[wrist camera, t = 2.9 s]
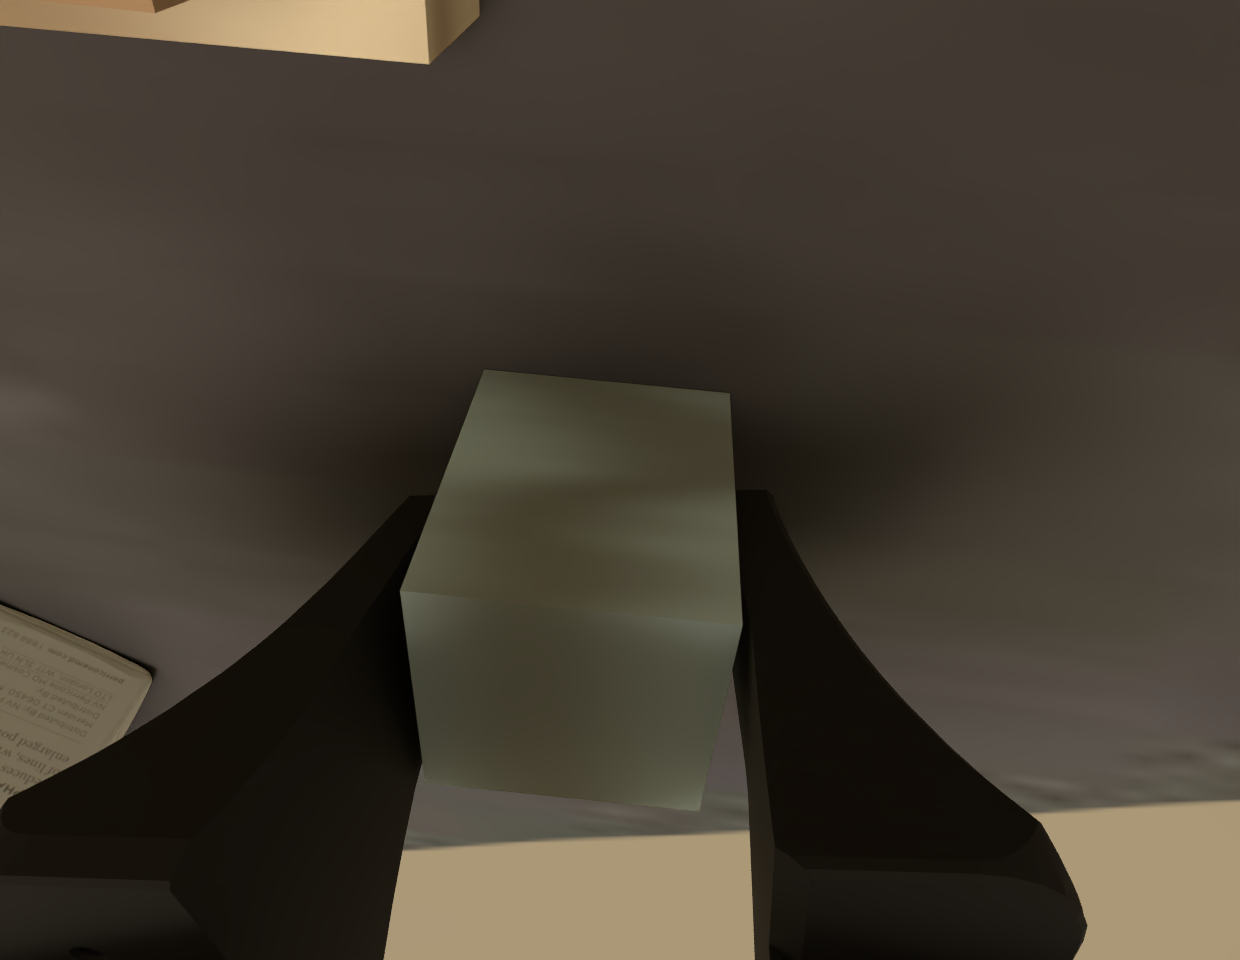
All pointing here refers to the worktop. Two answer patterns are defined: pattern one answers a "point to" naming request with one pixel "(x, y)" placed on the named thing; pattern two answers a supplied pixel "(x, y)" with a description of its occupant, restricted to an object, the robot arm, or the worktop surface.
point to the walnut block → (126, 4)
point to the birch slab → (272, 24)
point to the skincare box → (58, 700)
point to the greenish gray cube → (578, 592)
